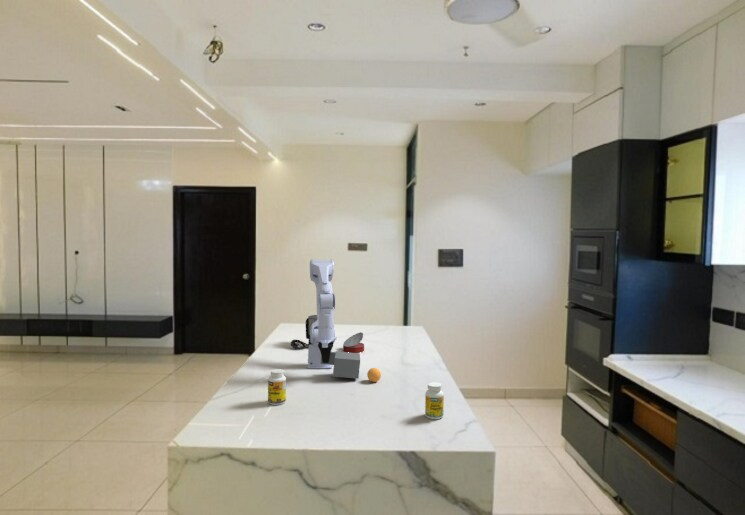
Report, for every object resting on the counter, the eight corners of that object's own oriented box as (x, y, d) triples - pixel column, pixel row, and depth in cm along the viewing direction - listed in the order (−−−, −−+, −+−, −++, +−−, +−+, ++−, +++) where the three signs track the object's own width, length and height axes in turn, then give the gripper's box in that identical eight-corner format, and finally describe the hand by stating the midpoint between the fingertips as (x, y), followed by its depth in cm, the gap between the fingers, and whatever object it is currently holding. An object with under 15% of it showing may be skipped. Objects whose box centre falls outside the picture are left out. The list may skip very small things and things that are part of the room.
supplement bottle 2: (439, 412, 135) (440, 380, 135) (446, 419, 130) (446, 386, 129) (422, 413, 134) (423, 381, 133) (428, 420, 129) (429, 387, 128)
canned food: (361, 362, 204) (362, 346, 199) (340, 359, 206) (340, 342, 201) (366, 346, 214) (367, 330, 209) (346, 343, 215) (346, 327, 210)
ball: (367, 383, 160) (367, 370, 160) (367, 379, 165) (367, 366, 165) (381, 383, 161) (381, 370, 160) (380, 379, 166) (380, 366, 165)
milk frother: (331, 346, 215) (331, 316, 214) (309, 353, 202) (309, 320, 201) (308, 342, 223) (308, 313, 222) (286, 348, 209) (286, 317, 209)
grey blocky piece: (319, 375, 162) (321, 354, 162) (320, 367, 172) (322, 348, 171) (358, 378, 163) (360, 358, 163) (357, 370, 172) (359, 351, 172)
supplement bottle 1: (264, 404, 139) (264, 372, 139) (273, 398, 145) (273, 367, 144) (280, 406, 138) (280, 374, 137) (289, 400, 143) (289, 369, 143)
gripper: (336, 330, 159) (335, 367, 160) (337, 322, 174) (337, 356, 174) (316, 330, 159) (316, 367, 159) (319, 322, 173) (318, 356, 174)
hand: (325, 362), depth 167 cm, fingers closed on grey blocky piece
